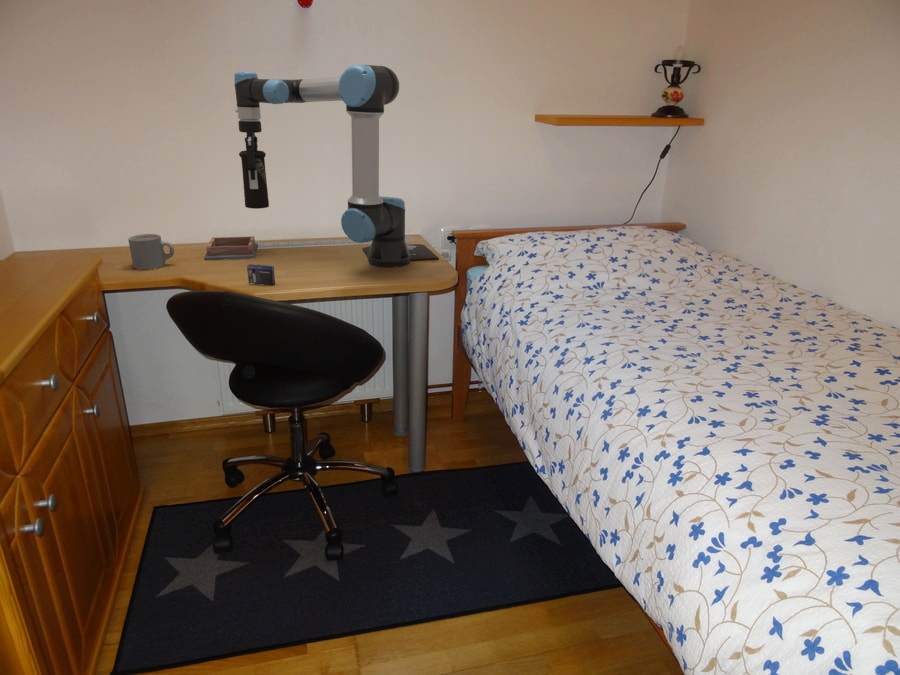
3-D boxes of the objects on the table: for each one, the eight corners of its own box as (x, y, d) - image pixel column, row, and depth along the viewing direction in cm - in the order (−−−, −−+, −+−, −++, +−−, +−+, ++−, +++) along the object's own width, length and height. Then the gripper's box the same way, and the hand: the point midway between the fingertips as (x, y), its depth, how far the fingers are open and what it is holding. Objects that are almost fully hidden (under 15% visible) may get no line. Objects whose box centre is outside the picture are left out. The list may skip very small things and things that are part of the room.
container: (265, 209, 222) (260, 151, 214) (240, 208, 222) (235, 150, 214) (272, 205, 230) (268, 149, 222) (248, 204, 230) (243, 148, 222)
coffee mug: (128, 270, 206) (123, 240, 203) (140, 262, 216) (135, 233, 212) (169, 270, 208) (165, 240, 204) (179, 262, 217) (175, 233, 213)
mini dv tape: (248, 283, 196) (246, 265, 193) (251, 282, 197) (249, 264, 195) (273, 285, 195) (271, 267, 192) (275, 284, 196) (273, 265, 194)
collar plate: (254, 258, 223) (253, 247, 221) (204, 260, 219) (203, 249, 218) (257, 245, 241) (256, 235, 239) (211, 246, 237) (210, 236, 236)
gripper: (241, 117, 223) (247, 182, 231) (234, 122, 204) (241, 191, 213) (263, 118, 224) (268, 182, 233) (258, 122, 205) (263, 191, 214)
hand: (255, 186), depth 223 cm, fingers closed on container, 8 cm apart
